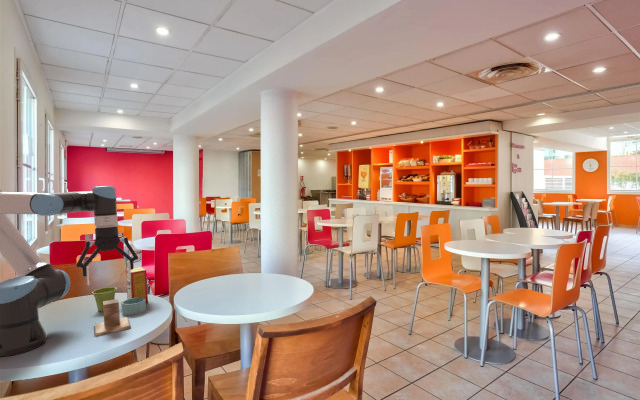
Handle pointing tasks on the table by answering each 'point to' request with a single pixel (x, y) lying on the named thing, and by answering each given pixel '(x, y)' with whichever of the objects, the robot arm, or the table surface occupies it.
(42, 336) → the robot arm
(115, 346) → the table surface
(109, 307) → the lid
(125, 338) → the table surface
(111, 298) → the plant pot
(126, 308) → the bowl
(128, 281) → the baking soda box
